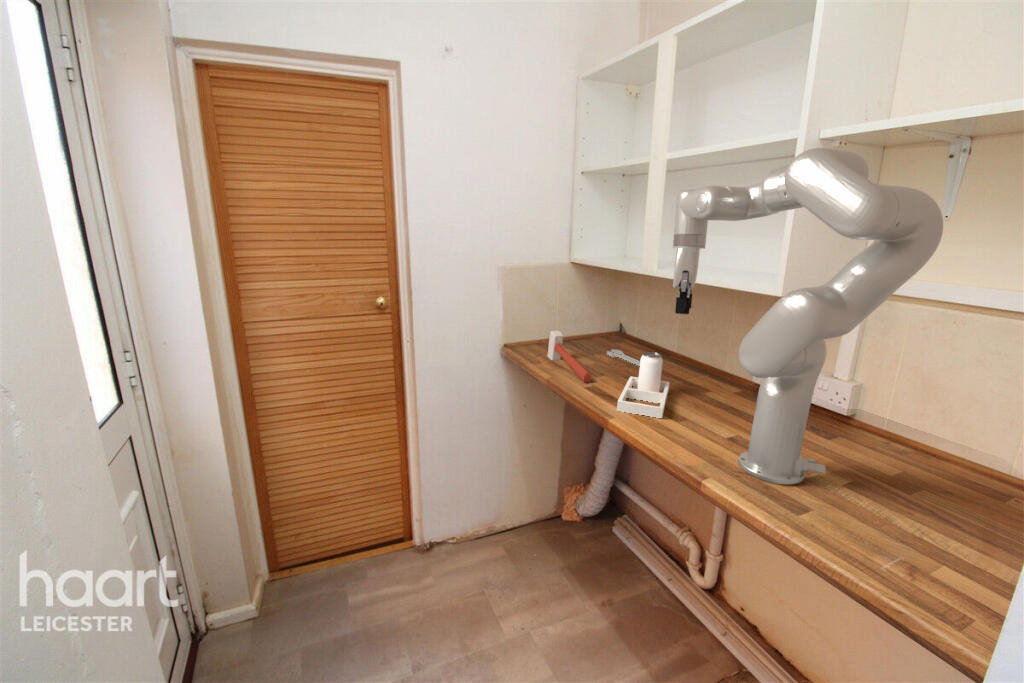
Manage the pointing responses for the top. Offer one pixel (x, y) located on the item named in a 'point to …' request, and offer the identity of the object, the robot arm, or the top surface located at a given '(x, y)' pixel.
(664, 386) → the caddy
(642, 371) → the can
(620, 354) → the adjustable wrench
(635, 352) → the top surface
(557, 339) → the mallet
